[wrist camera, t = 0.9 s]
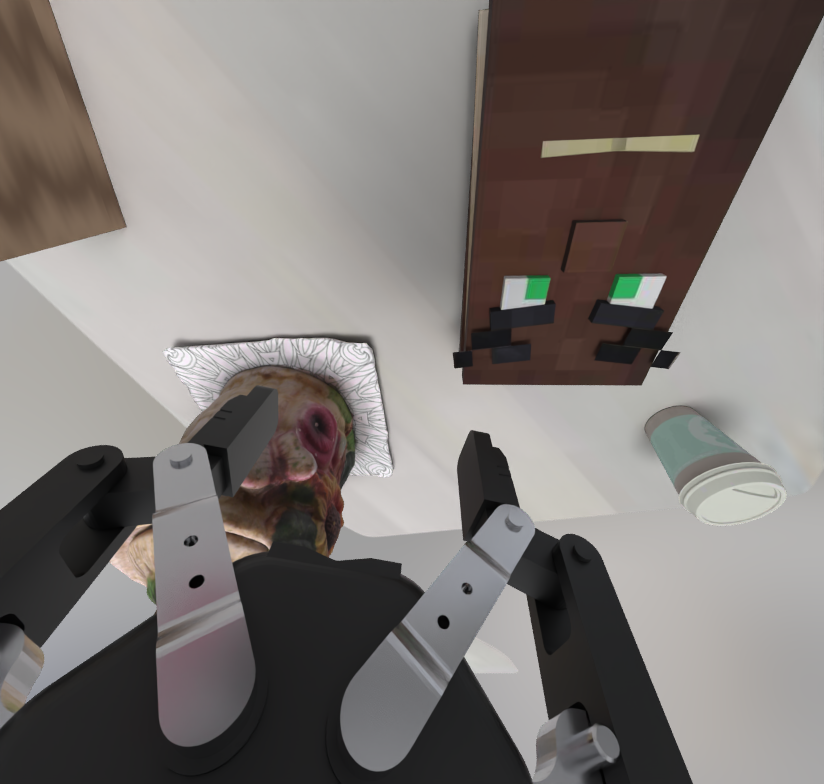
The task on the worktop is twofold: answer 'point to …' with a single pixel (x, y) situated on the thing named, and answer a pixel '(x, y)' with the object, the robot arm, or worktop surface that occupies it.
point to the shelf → (46, 141)
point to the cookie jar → (283, 441)
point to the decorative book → (608, 173)
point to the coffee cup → (712, 469)
